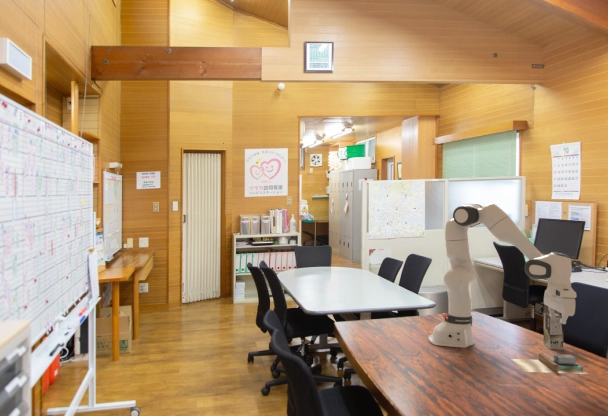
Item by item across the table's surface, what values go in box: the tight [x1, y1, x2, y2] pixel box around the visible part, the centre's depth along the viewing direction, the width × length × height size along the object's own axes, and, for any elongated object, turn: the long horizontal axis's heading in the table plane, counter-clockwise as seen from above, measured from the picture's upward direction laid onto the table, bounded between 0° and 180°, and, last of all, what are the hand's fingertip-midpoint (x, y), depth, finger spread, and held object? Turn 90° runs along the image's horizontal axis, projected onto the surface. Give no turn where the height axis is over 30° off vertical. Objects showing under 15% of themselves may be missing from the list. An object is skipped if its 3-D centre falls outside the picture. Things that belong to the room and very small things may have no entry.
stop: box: [553, 353, 577, 366], centre depth 186 cm, size 4×7×4 cm, turn 85°
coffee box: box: [543, 312, 565, 351], centre depth 214 cm, size 9×6×16 cm
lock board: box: [510, 352, 589, 375], centre depth 187 cm, size 26×15×4 cm, turn 85°
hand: (557, 320), depth 189 cm, fingers open, 8 cm apart
